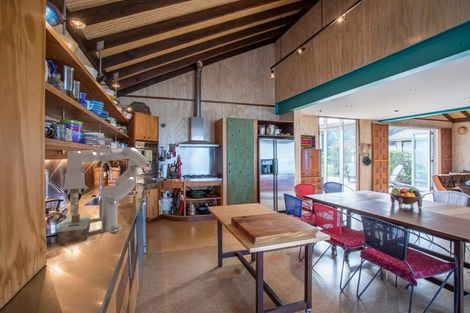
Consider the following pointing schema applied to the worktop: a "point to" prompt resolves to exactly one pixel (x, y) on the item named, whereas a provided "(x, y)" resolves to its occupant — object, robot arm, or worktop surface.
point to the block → (74, 203)
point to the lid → (74, 223)
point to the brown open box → (73, 235)
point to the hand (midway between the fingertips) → (74, 199)
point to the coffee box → (100, 210)
